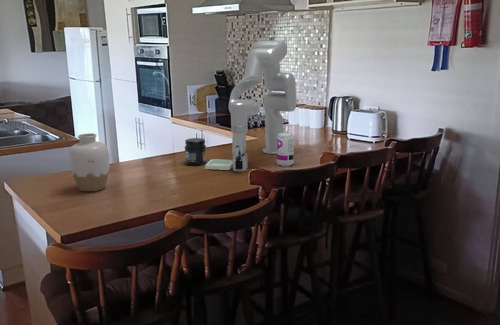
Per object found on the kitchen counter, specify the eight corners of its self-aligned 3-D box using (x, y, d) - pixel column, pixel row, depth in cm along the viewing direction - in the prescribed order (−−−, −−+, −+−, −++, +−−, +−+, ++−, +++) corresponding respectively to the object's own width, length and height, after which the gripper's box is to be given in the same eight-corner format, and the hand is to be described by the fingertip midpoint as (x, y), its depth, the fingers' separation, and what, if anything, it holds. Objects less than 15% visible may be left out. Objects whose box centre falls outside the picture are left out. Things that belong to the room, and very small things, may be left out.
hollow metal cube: (235, 168, 230) (235, 153, 228) (247, 169, 229) (247, 153, 227) (233, 171, 224) (232, 156, 222) (245, 172, 223) (244, 156, 221)
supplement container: (209, 161, 244) (208, 138, 241) (202, 166, 234) (201, 142, 231) (190, 160, 247) (189, 137, 244) (182, 165, 237) (180, 141, 234)
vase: (98, 181, 213) (93, 130, 208) (119, 187, 203) (115, 133, 198) (64, 190, 201) (58, 136, 196) (86, 197, 192) (80, 140, 186)
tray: (211, 163, 239) (211, 159, 238) (235, 164, 237) (235, 159, 236) (205, 170, 228) (204, 165, 227) (230, 171, 225) (229, 166, 225)
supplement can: (280, 167, 230) (280, 136, 227) (274, 163, 238) (274, 133, 234) (296, 165, 232) (296, 135, 229) (290, 161, 240) (290, 132, 236)
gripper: (235, 125, 230) (236, 162, 235) (227, 132, 214) (228, 172, 219) (251, 126, 229) (251, 163, 234) (243, 132, 213) (244, 172, 217)
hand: (240, 167), depth 226 cm, fingers closed on hollow metal cube, 5 cm apart
